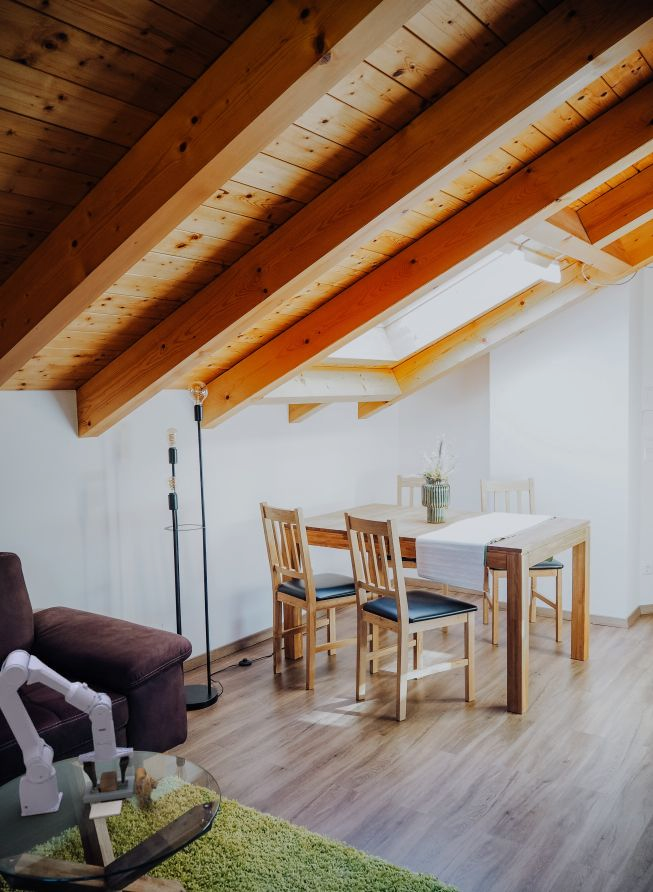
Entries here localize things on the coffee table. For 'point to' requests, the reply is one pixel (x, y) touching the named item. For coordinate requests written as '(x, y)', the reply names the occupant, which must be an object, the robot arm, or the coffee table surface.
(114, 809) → the rubber mat
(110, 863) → the coffee table surface
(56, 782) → the robot arm
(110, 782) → the walnut block
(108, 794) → the puzzle board
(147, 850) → the coffee table surface
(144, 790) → the lion figurine
